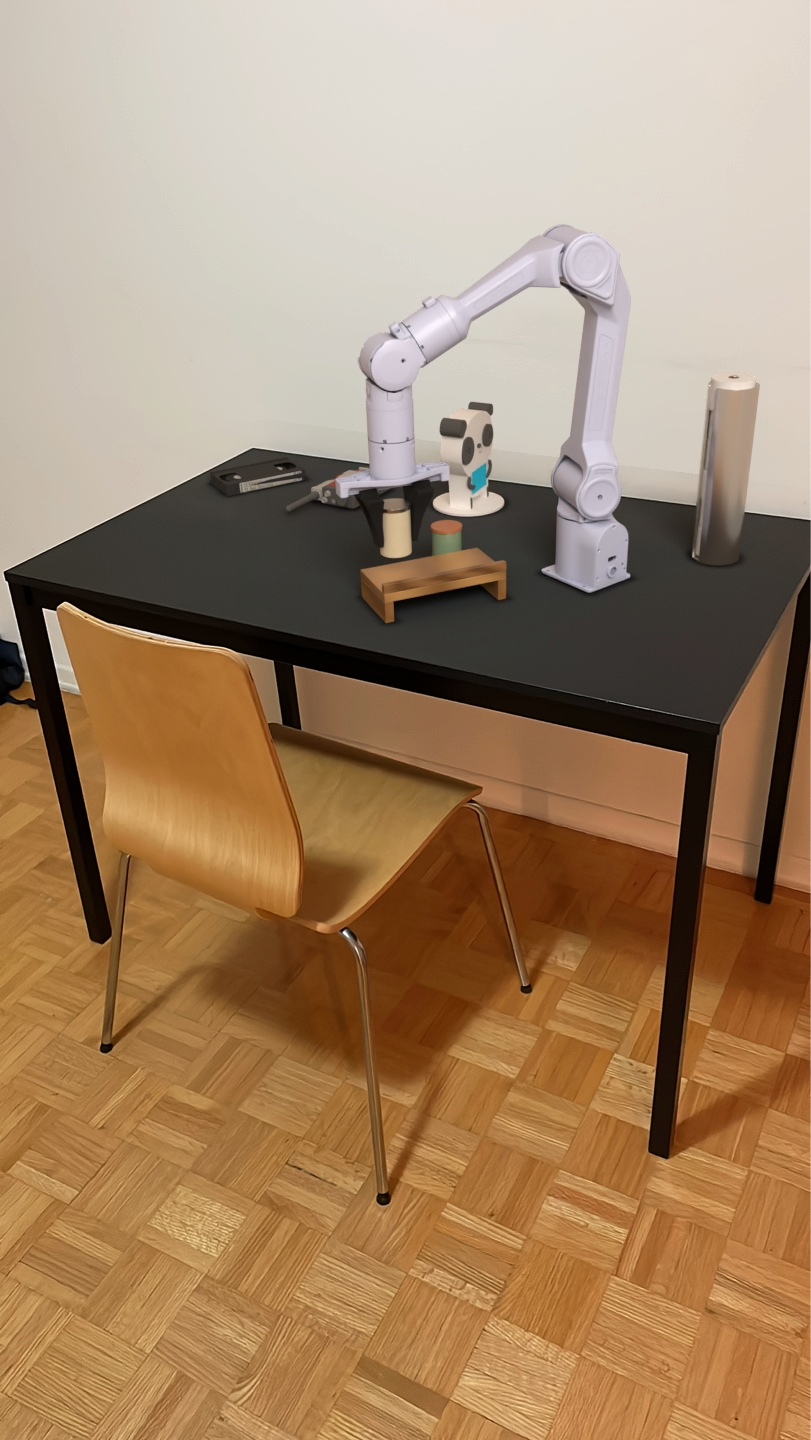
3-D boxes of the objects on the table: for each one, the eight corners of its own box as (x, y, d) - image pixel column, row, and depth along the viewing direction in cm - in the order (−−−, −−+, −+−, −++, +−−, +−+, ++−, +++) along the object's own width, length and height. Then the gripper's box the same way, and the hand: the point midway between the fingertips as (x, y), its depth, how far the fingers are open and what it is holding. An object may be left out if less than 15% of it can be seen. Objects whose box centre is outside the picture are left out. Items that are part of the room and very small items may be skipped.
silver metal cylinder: (740, 567, 155) (762, 382, 143) (691, 565, 157) (709, 381, 144) (737, 549, 161) (759, 370, 148) (690, 547, 162) (708, 369, 149)
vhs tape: (227, 496, 189) (226, 484, 188) (211, 483, 195) (209, 472, 194) (305, 480, 194) (304, 468, 193) (287, 468, 200) (286, 457, 199)
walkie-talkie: (354, 479, 194) (282, 516, 179) (352, 454, 191) (279, 489, 177) (397, 487, 189) (327, 525, 175) (396, 461, 187) (324, 498, 173)
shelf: (477, 574, 157) (477, 538, 154) (506, 598, 149) (506, 561, 147) (361, 597, 152) (359, 560, 149) (385, 623, 144) (383, 585, 142)
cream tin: (419, 552, 146) (417, 504, 143) (392, 561, 144) (389, 512, 140) (399, 543, 149) (397, 495, 146) (372, 551, 147) (370, 503, 143)
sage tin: (469, 569, 158) (468, 525, 155) (444, 578, 156) (443, 533, 153) (449, 561, 161) (448, 517, 158) (425, 568, 159) (424, 525, 156)
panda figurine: (483, 521, 174) (483, 424, 166) (418, 511, 179) (415, 416, 171) (515, 497, 183) (516, 404, 175) (452, 488, 188) (451, 397, 180)
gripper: (433, 421, 144) (435, 522, 151) (324, 437, 140) (332, 541, 147) (455, 435, 138) (457, 540, 145) (343, 452, 134) (350, 559, 141)
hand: (395, 541), depth 146 cm, fingers closed on cream tin, 4 cm apart
